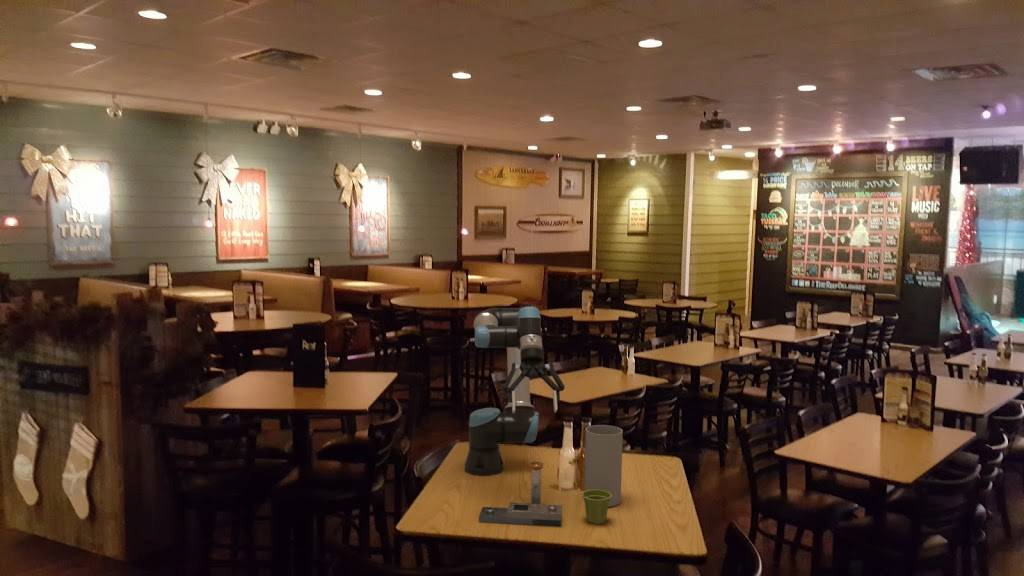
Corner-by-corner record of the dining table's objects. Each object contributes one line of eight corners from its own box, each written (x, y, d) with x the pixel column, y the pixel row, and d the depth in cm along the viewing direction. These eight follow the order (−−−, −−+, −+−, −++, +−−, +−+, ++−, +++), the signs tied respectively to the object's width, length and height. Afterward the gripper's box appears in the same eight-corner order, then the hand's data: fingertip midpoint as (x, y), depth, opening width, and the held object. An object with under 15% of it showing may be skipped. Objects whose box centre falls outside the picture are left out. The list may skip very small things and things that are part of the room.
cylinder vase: (593, 492, 263) (595, 423, 261) (626, 499, 256) (628, 428, 254) (578, 503, 252) (579, 431, 250) (612, 510, 245) (613, 437, 244)
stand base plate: (478, 522, 234) (479, 507, 234) (482, 512, 242) (482, 498, 242) (560, 526, 232) (561, 511, 231) (562, 517, 239) (562, 502, 239)
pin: (527, 503, 251) (527, 462, 250) (537, 500, 254) (537, 460, 252) (534, 507, 248) (535, 466, 247) (544, 504, 250) (545, 464, 249)
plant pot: (587, 527, 231) (588, 500, 230) (577, 516, 240) (577, 490, 239) (615, 525, 234) (616, 498, 233) (604, 514, 243) (604, 488, 242)
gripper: (494, 346, 244) (496, 408, 234) (569, 345, 245) (574, 406, 235) (493, 355, 250) (495, 415, 240) (566, 354, 252) (571, 414, 242)
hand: (534, 411), depth 238 cm, fingers open, 13 cm apart
